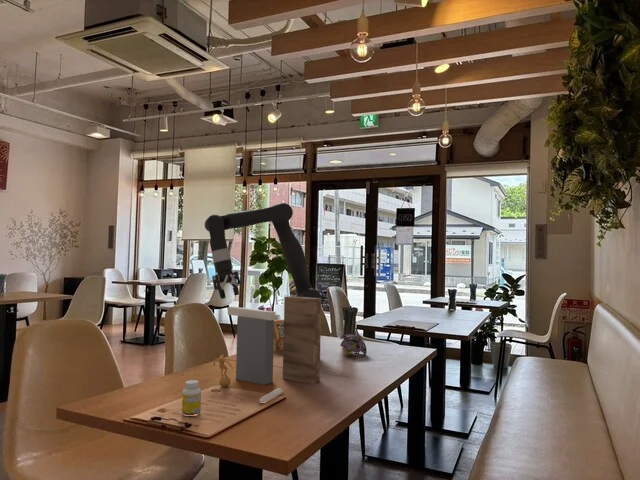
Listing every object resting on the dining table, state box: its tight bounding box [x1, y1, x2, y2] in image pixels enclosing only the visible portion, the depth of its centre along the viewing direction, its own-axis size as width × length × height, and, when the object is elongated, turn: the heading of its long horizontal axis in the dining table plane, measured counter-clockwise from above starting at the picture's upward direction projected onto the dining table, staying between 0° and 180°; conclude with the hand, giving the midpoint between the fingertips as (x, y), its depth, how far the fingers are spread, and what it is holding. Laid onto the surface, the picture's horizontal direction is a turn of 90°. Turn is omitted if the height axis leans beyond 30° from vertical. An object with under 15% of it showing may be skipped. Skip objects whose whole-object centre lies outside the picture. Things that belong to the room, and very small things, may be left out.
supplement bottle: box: [181, 379, 202, 415], centre depth 146 cm, size 5×5×10 cm
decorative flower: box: [339, 333, 367, 357], centre depth 239 cm, size 14×12×15 cm
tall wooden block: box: [282, 295, 322, 385], centre depth 190 cm, size 5×14×32 cm, turn 59°
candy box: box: [273, 318, 284, 352], centre depth 250 cm, size 9×4×15 cm, turn 129°
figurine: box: [213, 354, 234, 388], centre depth 177 cm, size 8×6×12 cm
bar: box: [227, 306, 277, 320], centre depth 191 cm, size 3×24×3 cm, turn 51°
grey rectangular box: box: [235, 316, 274, 386], centre depth 188 cm, size 5×14×24 cm, turn 59°
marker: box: [258, 387, 284, 403], centre depth 163 cm, size 3×2×16 cm
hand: (230, 296), depth 210 cm, fingers open, 8 cm apart
